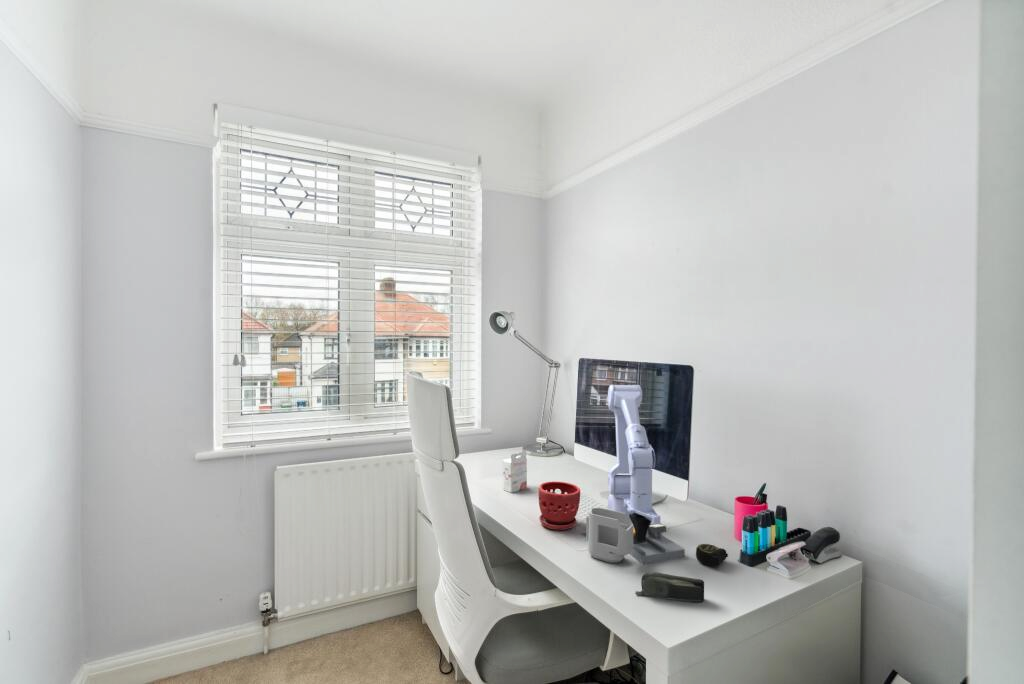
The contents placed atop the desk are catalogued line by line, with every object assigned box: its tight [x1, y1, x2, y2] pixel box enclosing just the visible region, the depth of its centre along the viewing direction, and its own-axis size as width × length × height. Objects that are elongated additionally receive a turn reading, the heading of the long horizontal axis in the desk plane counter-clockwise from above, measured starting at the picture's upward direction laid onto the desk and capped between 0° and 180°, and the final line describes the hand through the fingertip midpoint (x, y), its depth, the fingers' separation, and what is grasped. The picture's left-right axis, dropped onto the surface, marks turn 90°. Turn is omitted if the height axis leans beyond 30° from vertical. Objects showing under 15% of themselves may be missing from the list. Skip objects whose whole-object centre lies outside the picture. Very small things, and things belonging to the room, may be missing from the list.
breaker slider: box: [633, 526, 646, 544], centre depth 131 cm, size 4×4×3 cm
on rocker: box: [648, 523, 668, 533], centre depth 135 cm, size 8×3×2 cm, turn 19°
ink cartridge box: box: [502, 451, 528, 494], centre depth 182 cm, size 9×5×15 cm, turn 132°
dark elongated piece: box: [635, 571, 705, 604], centre depth 106 cm, size 5×3×15 cm
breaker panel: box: [628, 522, 686, 565], centre depth 132 cm, size 17×13×5 cm
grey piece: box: [585, 507, 633, 564], centre depth 125 cm, size 7×12×12 cm, turn 56°
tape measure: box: [695, 543, 729, 568], centre depth 123 cm, size 7×7×4 cm
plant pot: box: [538, 481, 581, 531], centre depth 147 cm, size 13×13×12 cm
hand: (641, 540), depth 128 cm, fingers closed
